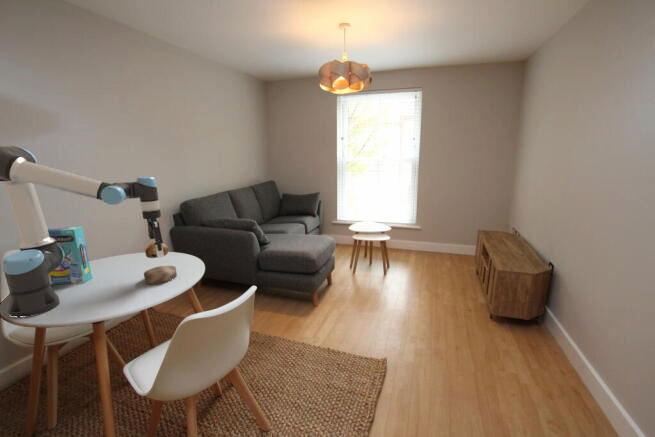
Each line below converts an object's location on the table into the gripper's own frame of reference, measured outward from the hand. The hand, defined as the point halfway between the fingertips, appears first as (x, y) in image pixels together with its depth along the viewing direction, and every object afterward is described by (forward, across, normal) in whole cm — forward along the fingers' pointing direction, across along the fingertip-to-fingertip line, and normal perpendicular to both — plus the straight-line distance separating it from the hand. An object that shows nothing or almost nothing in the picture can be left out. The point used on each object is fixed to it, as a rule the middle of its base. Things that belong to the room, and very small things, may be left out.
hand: (157, 254), depth 149 cm
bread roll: (+1, 0, 0) cm, 1 cm away
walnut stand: (+13, 0, 0) cm, 13 cm away
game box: (+13, +28, +36) cm, 48 cm away
